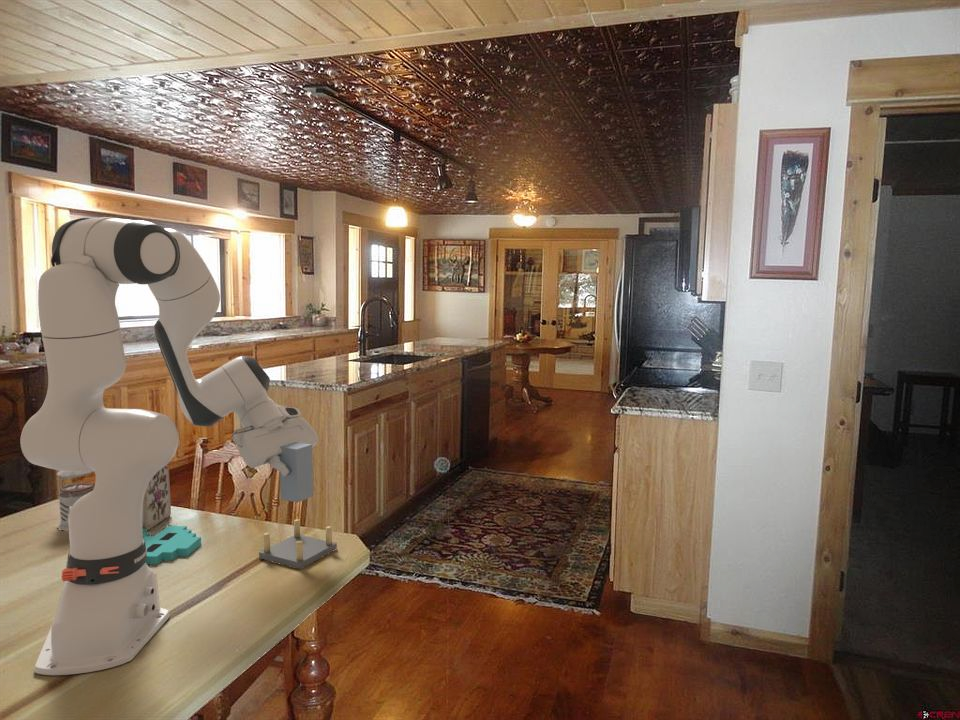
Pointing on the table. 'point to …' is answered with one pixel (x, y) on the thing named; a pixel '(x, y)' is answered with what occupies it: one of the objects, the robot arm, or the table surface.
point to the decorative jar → (156, 500)
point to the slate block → (297, 472)
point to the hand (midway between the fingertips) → (298, 470)
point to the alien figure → (170, 544)
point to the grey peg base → (297, 548)
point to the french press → (76, 492)
